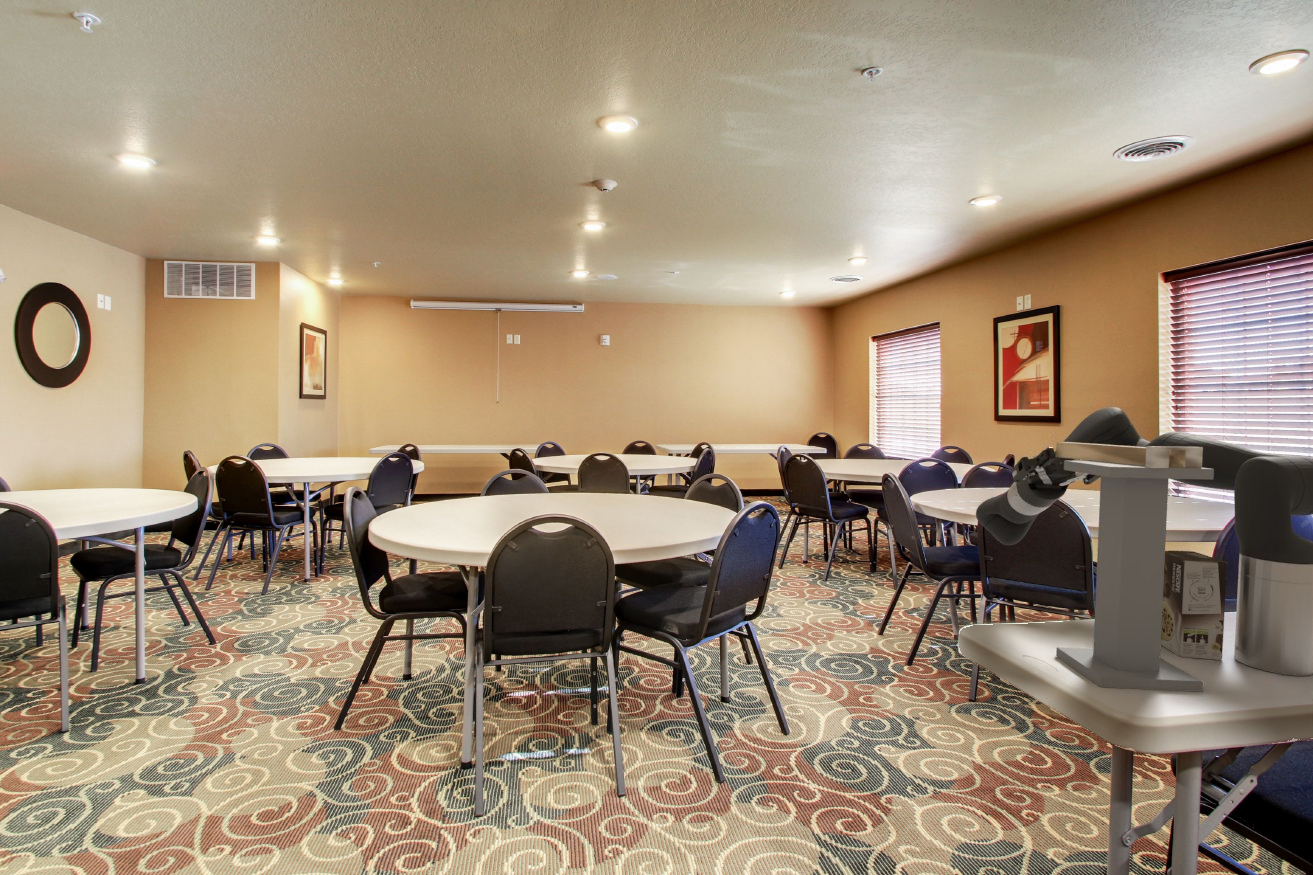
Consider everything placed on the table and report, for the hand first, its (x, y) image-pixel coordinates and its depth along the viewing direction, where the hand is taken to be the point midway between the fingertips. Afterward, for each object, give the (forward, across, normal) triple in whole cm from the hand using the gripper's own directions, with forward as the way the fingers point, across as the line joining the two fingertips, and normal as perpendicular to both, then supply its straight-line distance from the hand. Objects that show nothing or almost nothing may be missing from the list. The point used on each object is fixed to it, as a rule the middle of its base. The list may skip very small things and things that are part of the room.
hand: (1077, 452), depth 113 cm
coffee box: (-15, -18, -30) cm, 38 cm away
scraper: (+8, 0, -6) cm, 9 cm away
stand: (-4, -1, -36) cm, 36 cm away
